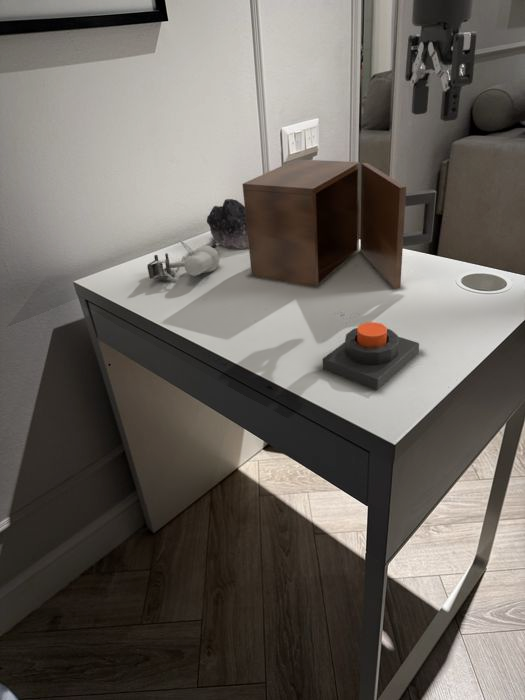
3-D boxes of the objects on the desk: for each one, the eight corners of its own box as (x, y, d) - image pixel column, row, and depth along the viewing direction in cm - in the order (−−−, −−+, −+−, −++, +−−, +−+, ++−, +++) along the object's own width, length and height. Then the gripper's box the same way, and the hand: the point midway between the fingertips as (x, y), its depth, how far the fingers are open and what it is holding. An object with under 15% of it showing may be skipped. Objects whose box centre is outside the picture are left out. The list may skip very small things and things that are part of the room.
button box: (365, 339, 72) (366, 314, 70) (418, 357, 68) (420, 330, 65) (322, 373, 66) (322, 346, 64) (377, 394, 62) (378, 366, 59)
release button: (367, 331, 67) (367, 319, 66) (391, 339, 65) (392, 327, 64) (351, 343, 65) (351, 331, 64) (376, 351, 63) (376, 339, 62)
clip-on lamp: (179, 269, 109) (145, 287, 92) (173, 238, 107) (137, 251, 90) (233, 263, 106) (208, 280, 89) (228, 231, 104) (201, 243, 88)
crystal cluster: (272, 230, 118) (265, 185, 114) (276, 245, 106) (268, 196, 102) (214, 240, 119) (205, 196, 114) (212, 256, 107) (201, 208, 102)
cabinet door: (394, 248, 100) (398, 158, 91) (434, 285, 85) (444, 181, 76) (360, 253, 99) (361, 163, 91) (394, 291, 84) (399, 187, 75)
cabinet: (358, 253, 100) (360, 161, 91) (316, 290, 87) (312, 188, 79) (299, 245, 106) (295, 159, 98) (252, 279, 94) (242, 183, 85)
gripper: (504, -28, 62) (484, 119, 70) (442, -16, 74) (432, 109, 82) (446, -23, 60) (433, 126, 69) (393, -12, 72) (388, 114, 81)
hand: (433, 116), depth 75 cm, fingers open, 8 cm apart
